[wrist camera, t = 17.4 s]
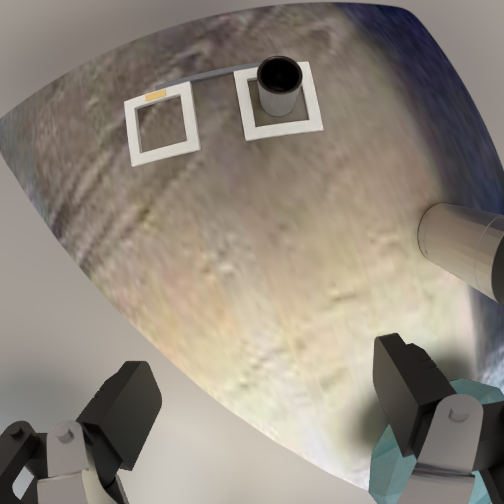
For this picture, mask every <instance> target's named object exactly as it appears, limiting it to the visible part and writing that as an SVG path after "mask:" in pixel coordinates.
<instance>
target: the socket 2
mask: <svg viewBox="0 0 504 504" xmlns="http://www.w3.org/2000/svg"><path fill="white" fill-rule="evenodd" d="M297 64H298V65H299V66H300V68H301V70H302V73H303V79H302V83H301V86H302V90H303V95H304V100H305V104H306V109H307V114H308V119H309V120H305V121H297V122H288V123H281V124H274V125H267V126H261V127H256V126H255V121H254V115H253V110H252V104H251V99H250V93H249V88H248V83H247V81H252V80H257V70H258V67H256V68H250V69H244V70H238V71H234V77H235V82H236V88H237V93H238V99H239V105H240V110H241V116H242V122H243V127H244V133H245V139H246V141H252V140H258V139H264V138H271V137H278V136H285V135H293V134H301V133H309V132H319V131H323V125H322V120H321V115H320V110H319V105H318V101H317V96H316V92H315V87H314V83H313V79H312V74H311V70H310V66H309V62H297Z"/></svg>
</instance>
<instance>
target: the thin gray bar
mask: <svg viewBox="0 0 504 504" xmlns="http://www.w3.org/2000/svg"><path fill="white" fill-rule="evenodd" d="M262 62H263V61H262ZM262 62H255V63H249V64H243V65H237V66H232V67H227V68H222V69H217V70H213V71H208V72H204V73H200V74H196V75H192V76H188V77H184V78H181V79H177V80H174V81H170V82H167V83H164V84H160V85H157V86H155V87H156V91H157V90H161V89H164V88H167V87H171V86H174V85H178V84H181V83H185V82H189V81H190V82H191V83H193V82H197V81H201V80H205V79H209V78H214V77H219V76H223V75H228V74H233V73H234V71H238V70H244V69H250V68H256V67H259V65H260V64H261V63H262Z"/></svg>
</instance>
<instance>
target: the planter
mask: <svg viewBox="0 0 504 504" xmlns="http://www.w3.org/2000/svg"><path fill="white" fill-rule="evenodd" d="M302 79H303V73H302V70H301V68H300V66H299V65H298V64H297V63H296V62H295V61H294V60H292V59H290V58H288V57H285V56H273V57H270V58H267V59H266V60H264V61H263V62H262V63H261V64H260V65H259V67H258V70H257V82H258V89H259V95H260V102H261V106H262V108H263V109H264V111H265V112H266V113H268V114H269V115H271V116H275V117H282V116H285V115H287V114H289V113H290V112H291V111H292V110H293V108H294V106H295V103H296V100H297V96H298V93H299V90H300V87H301V83H302Z"/></svg>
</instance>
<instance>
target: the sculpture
mask: <svg viewBox="0 0 504 504" xmlns="http://www.w3.org/2000/svg"><path fill="white" fill-rule="evenodd" d="M449 383H450V384H451V386H452V387H453V388H454V390H455V391H456V392H457V394H466V395H470V396H472V397H474V398H476V399H477V400H478V401H479V402H480V403H481V404H488V403H494V402H499V401H504V395H503V393H502V392H501V390H500V389H499V388H497V387H493V386H489V385H486V384H482V383H479V382H475V381H472V380H468V379H465V378H460V379H457V380H454V381H450V382H449ZM416 462H417V460H416V458H415V455H411V456H408V457H405V458H403V457H402V454H401V452H400V449H399V446H398V444H397V441H396V439H395V436H394V434H393V431H392V429H391V426H390V424H388V426H387V428H386V429H385V431H384V433H383V434H382V436H381V438H380V439H379V441H378V442H377V444H376V445H375V447H374V449H373V451H372V457H371V466H370V480H369V493H370V495H371V496H372V497H373V498H374V500H375V501H376V502H377V504H396V503H397V501H398V500H399V498H400V496H401V494H402V492H403V490H404V488H405V486H406V484H407V482H408V480H409V478H410V475H411V473H412V471H413V469H414V467H415V464H416ZM472 474H474V475H475V483H474V487H473V491H472V494H471V497H470V500H469V503H468V504H490V503H491V499H490V497H489V494H488V492H487V489H486V487H485V484H484V482H483V480H482V477H481V475H480V473H479V470H478V471H473V472H472Z"/></svg>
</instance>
